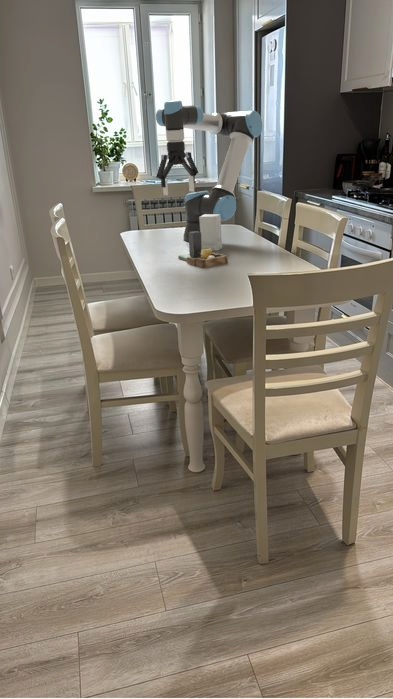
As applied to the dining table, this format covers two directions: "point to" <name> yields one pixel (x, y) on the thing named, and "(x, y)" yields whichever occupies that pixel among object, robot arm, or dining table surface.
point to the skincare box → (211, 231)
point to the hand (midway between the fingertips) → (179, 193)
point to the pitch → (205, 260)
